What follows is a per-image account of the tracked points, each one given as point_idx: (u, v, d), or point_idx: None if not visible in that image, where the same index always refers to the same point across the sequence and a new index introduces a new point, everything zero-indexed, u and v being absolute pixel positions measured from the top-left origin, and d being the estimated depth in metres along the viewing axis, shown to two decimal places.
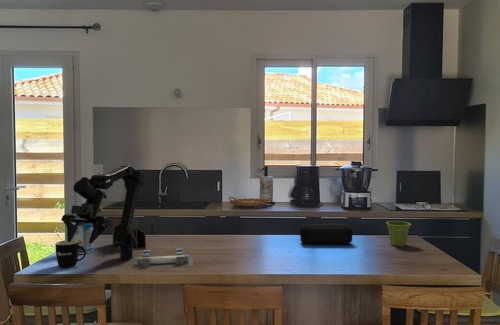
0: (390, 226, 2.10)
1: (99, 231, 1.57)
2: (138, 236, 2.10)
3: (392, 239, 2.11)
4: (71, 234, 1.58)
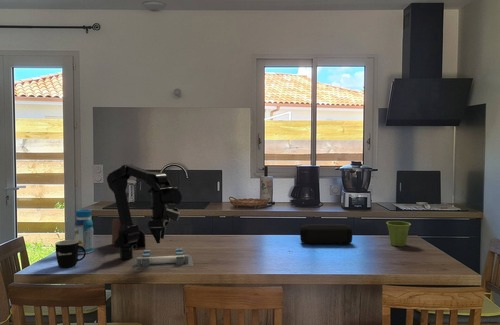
0: (390, 226, 2.10)
1: None
2: None
3: (392, 239, 2.11)
4: None
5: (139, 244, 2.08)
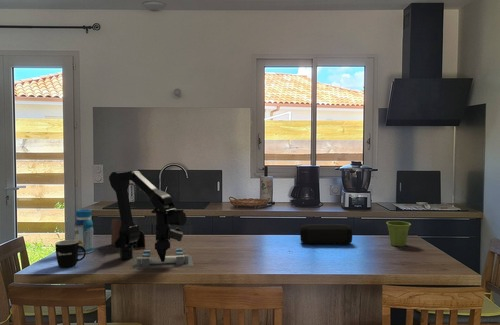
0: (390, 226, 2.10)
1: None
2: None
3: (392, 239, 2.11)
4: None
5: (139, 244, 2.08)
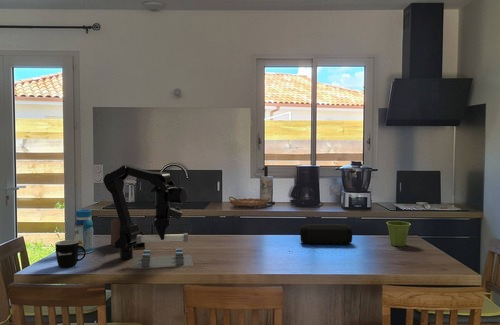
0: (390, 226, 2.10)
1: None
2: None
3: (392, 239, 2.11)
4: None
5: (138, 244, 2.08)
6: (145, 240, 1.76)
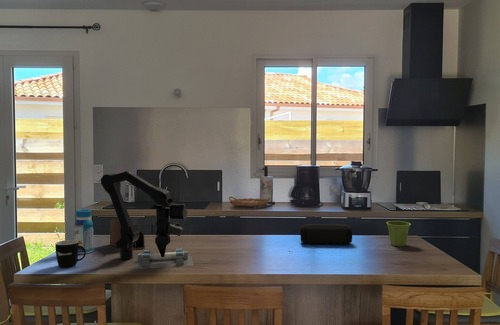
0: (390, 226, 2.10)
1: None
2: None
3: (392, 239, 2.11)
4: None
5: (138, 244, 2.08)
6: None
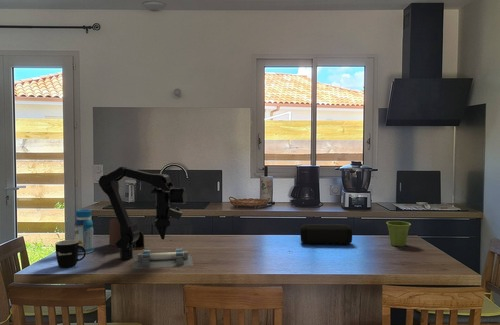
0: (390, 226, 2.10)
1: None
2: None
3: (392, 239, 2.11)
4: None
5: (137, 244, 2.08)
6: None
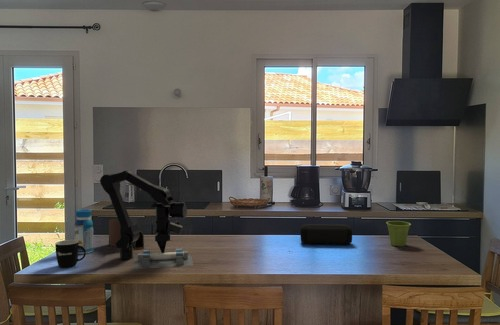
0: (390, 226, 2.10)
1: None
2: None
3: (392, 239, 2.11)
4: None
5: (137, 244, 2.08)
6: None
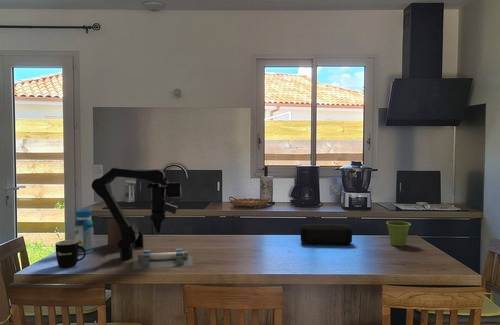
0: (390, 226, 2.10)
1: None
2: None
3: (392, 239, 2.11)
4: None
5: (136, 244, 2.08)
6: None
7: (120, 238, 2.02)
